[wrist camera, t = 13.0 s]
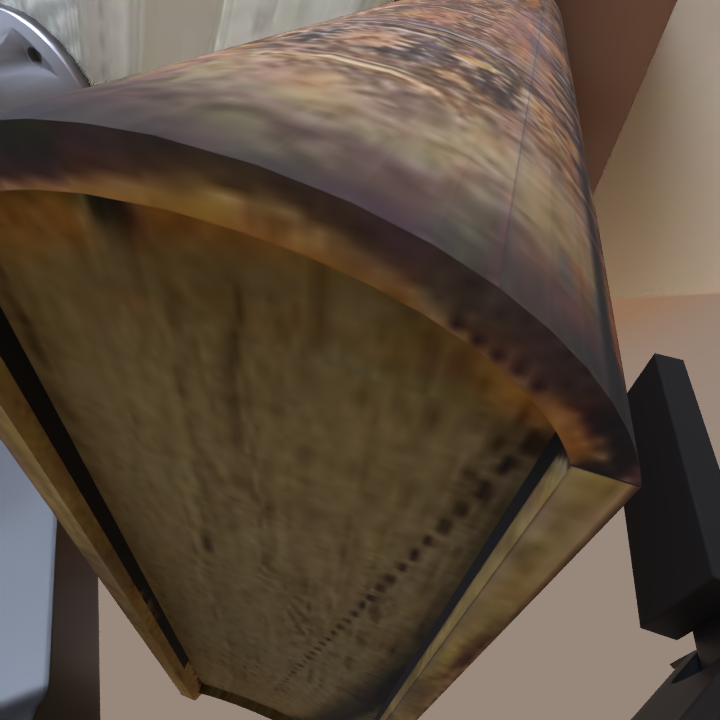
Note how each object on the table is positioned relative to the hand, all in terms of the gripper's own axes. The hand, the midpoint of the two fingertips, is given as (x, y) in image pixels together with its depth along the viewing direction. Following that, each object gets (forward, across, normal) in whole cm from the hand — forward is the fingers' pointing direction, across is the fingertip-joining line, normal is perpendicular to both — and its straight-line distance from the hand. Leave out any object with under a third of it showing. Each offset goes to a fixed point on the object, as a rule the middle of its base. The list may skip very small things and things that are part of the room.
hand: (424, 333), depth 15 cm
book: (+15, -1, 0) cm, 15 cm away
